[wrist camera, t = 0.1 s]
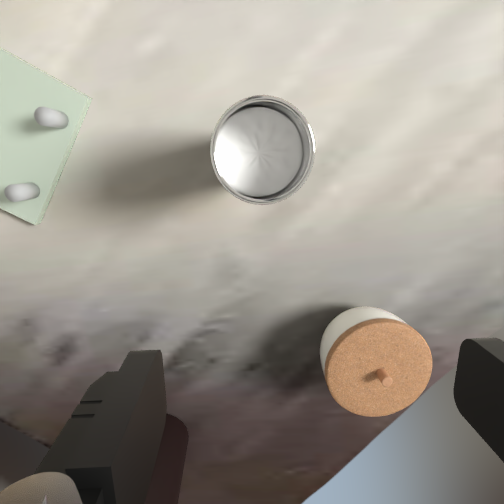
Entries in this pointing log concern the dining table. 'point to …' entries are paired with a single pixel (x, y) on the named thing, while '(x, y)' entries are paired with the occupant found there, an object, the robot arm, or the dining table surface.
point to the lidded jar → (374, 361)
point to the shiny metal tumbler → (262, 149)
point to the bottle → (169, 464)
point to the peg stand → (34, 135)
